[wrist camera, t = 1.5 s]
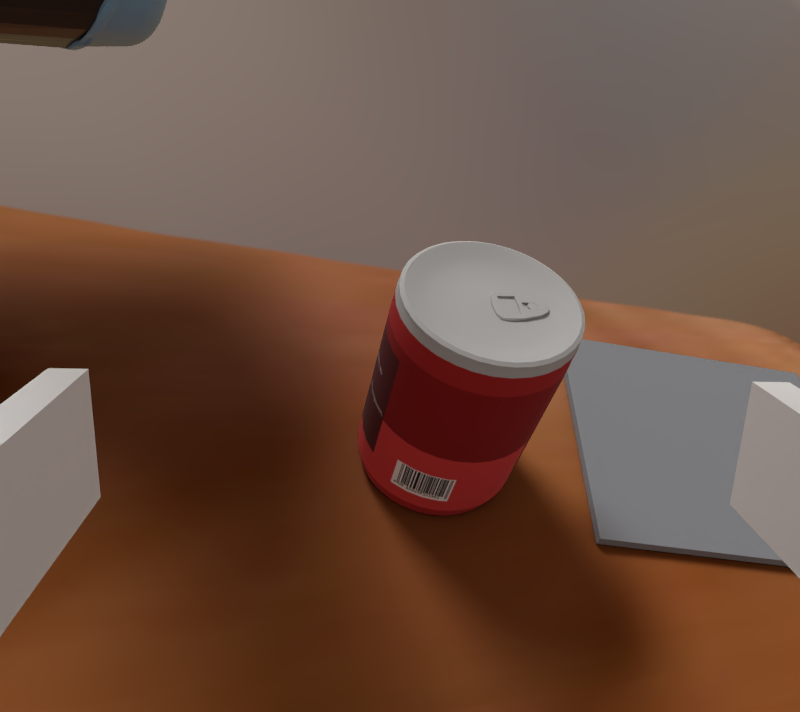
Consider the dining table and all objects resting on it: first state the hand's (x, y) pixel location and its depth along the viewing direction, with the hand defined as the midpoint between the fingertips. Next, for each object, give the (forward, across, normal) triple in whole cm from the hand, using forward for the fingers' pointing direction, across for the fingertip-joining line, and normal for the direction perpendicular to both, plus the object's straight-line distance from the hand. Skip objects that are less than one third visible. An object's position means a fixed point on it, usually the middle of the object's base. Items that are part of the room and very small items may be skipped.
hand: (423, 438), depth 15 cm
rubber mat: (+25, +18, -11) cm, 33 cm away
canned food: (+21, +2, -10) cm, 24 cm away
